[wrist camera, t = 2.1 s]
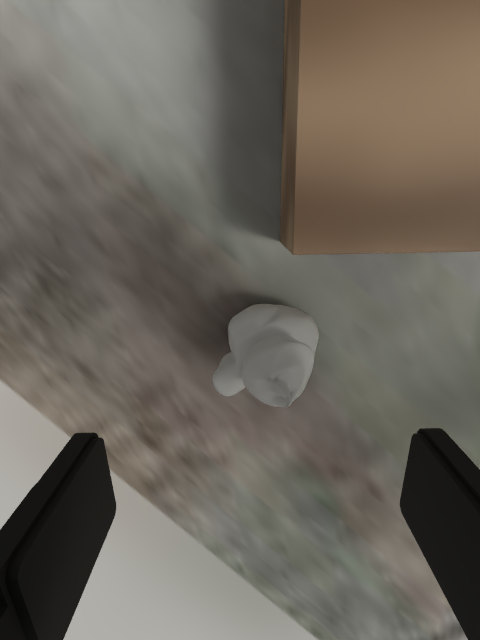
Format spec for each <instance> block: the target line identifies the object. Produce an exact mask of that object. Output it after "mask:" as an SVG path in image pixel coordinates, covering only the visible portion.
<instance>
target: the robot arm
mask: <svg viewBox="0 0 480 640" xmlns="http://www.w3.org/2000/svg"><path fill="white" fill-rule="evenodd" d="M400 508H401V512H402V514H403V517H404V518H405V520H406V522H407V524H408V526H409V528H410V530H411V532H412V534H413V536H414V537H415V539H416V541H417V543H418V545H419V547H420V549H421V551H422V553H423V555H424V557H425V558H426V560H427V562H428V564H429V566H430V568H431V570H432V572H433V574H434V576H435V577H436V579H437V581H438V583H439V585H440V587H441V589H442V591H443V593H444V595H445V597H446V598H447V600H448V602H449V604H450V606H451V608H452V610H453V612H454V614H455V616H456V617H457V619H458V621H459V623H460V625H461V627H462V629H463V631H464V633H465V635H466V637H467V638H468V640H480V470H479V468H478V467H477V466H476V465H475V464H474V463H473V462H472V461H471V460H470V459H469V457H468V456H467V455H466V454H465V453H464V452H463V451H462V450H461V449H460V448H459V447H458V445H457V444H456V443H455V442H454V441H453V440H452V439H451V438H450V437H449V436H448V434H447V433H446V432H445V431H444V430H442V429H440V428H427V429H419V430H418V432H417V434H413V436H412V439H411V444H410V450H409V455H408V461H407V466H406V472H405V477H404V482H403V488H402V493H401V499H400ZM115 512H116V501H115V496H114V491H113V486H112V481H111V476H110V470H109V465H108V460H107V455H106V450H105V445H104V440H103V439H102V438H99V437H98V435H97V434H96V433H76V434H74V435H73V436H72V438H71V439H70V440H69V442H68V443H67V444H66V446H65V447H64V448H63V450H62V451H61V452H60V454H59V455H58V456H57V458H56V459H55V460H54V462H53V463H52V464H51V466H50V467H49V468H48V470H47V471H46V472H45V473H44V475H43V476H42V478H41V479H40V480H39V481H38V483H36V485H35V486H34V487H33V488H32V489H31V490H30V491H29V493H28V494H27V496H26V497H25V498H24V499H23V501H22V502H21V504H20V505H19V506H18V507H17V509H16V510H15V511H14V513H13V514H12V515H11V517H10V518H9V519H8V521H7V522H6V523H5V524H4V526H3V527H2V529H1V530H0V640H63V639H64V636H65V634H66V632H67V629H68V627H69V624H70V622H71V620H72V617H73V615H74V612H75V610H76V608H77V605H78V603H79V600H80V598H81V596H82V593H83V591H84V589H85V586H86V584H87V581H88V579H89V576H90V574H91V572H92V569H93V567H94V564H95V562H96V560H97V557H98V555H99V552H100V550H101V548H102V545H103V543H104V541H105V538H106V536H107V533H108V531H109V529H110V526H111V524H112V522H113V519H114V516H115Z"/></svg>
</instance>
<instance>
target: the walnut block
mask: <svg viewBox="0 0 480 640" xmlns="http://www.w3.org/2000/svg"><path fill="white" fill-rule="evenodd" d="M280 242H281V243H282V244H283V245H284V246H285V247H286V248H287V249H288V250H289V251H290V252H291V253H292V254H293V255H303V254H360V253H417V252H474V251H480V0H285V8H284V64H283V119H282V175H281V230H280Z"/></svg>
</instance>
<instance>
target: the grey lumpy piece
mask: <svg viewBox="0 0 480 640" xmlns="http://www.w3.org/2000/svg"><path fill="white" fill-rule="evenodd" d="M228 336H229V346H230V349H231V352H230V353H228V354H226V355H225V356H224V357H223V358H222V360H221V362H220V365H219V367H218V368H217V369H216V371H215V373H214V375H213V386H214V388H215V389H216V391H217V392H218V393H220V394H221V395H224V396H227V397H229V396H232V395H234V394H236V393H238V392H240V391H241V390H243V389H244V388H245V387H246V388H247V389H248V390H249V392H250V393H251V394H252V395H253V396H254V397H256V398H257V399H258V400H260V401H261V402H263V403H265V404H267V405H270V406H273V407H289V406H290V405H291V403H292V402H293V401H294V400H295V399H297V398H298V397H299V396H300V395H301V394H302V392H303V391H304V389H305V387H306V384H307V382H308V380H309V377H310V375H311V372H312V369H313V365H314V356H315V352H316V348H317V344H318V339H319V332H318V328H317V326H316V324H315V323H314V321H313V320H312V318H311V317H310V316H309V315H308V314H306V313H305V312H303V311H301V310H299V309H296V308H292V307H289V306H284V305H272V304H256V305H252V306H250V307H248V308H246V309H245V310H243V311H241V312H240V313H238V314H236V315H235V316H234V317H233V318H232V319H231V320H230V323H229V325H228Z"/></svg>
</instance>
